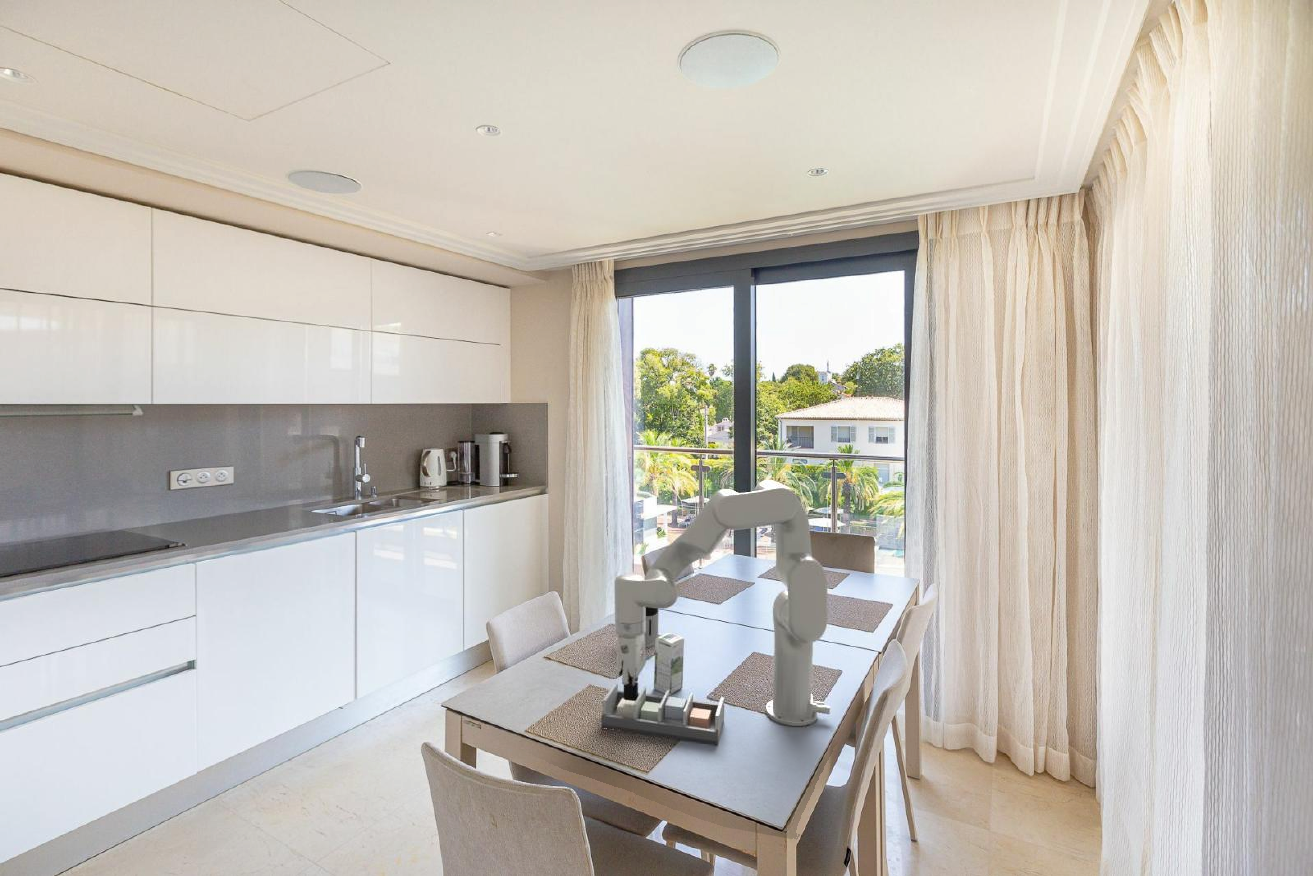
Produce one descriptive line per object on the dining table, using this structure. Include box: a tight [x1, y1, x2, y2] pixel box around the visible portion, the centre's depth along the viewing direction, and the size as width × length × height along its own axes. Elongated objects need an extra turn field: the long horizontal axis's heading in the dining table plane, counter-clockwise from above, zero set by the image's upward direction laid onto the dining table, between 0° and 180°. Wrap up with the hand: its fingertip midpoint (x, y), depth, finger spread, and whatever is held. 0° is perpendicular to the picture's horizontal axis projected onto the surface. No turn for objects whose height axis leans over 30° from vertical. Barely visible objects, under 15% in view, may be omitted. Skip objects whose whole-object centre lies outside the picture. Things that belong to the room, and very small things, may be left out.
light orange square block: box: [690, 708, 711, 729], centre depth 149 cm, size 4×4×3 cm
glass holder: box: [644, 607, 660, 648], centre depth 200 cm, size 9×14×15 cm, turn 174°
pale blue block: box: [665, 696, 688, 720], centre depth 150 cm, size 4×4×3 cm
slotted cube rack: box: [600, 682, 725, 747], centre depth 151 cm, size 28×11×7 cm, turn 76°
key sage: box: [641, 701, 660, 722], centre depth 151 cm, size 4×4×3 cm
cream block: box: [617, 698, 635, 718], centre depth 153 cm, size 4×4×3 cm
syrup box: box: [653, 632, 685, 696], centre depth 170 cm, size 6×6×14 cm
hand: (630, 698), depth 153 cm, fingers closed
